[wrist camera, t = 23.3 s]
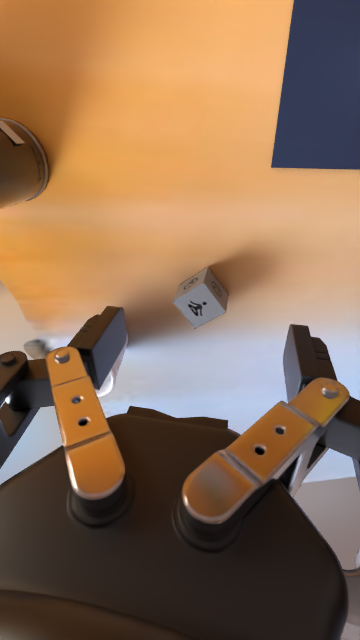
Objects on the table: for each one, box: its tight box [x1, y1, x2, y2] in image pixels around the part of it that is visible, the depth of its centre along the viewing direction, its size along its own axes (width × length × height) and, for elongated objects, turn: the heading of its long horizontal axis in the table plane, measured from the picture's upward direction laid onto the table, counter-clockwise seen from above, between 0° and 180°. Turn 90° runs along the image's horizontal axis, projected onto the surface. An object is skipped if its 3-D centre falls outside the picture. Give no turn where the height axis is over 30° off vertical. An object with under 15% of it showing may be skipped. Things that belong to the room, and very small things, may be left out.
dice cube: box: [173, 267, 228, 329], centre depth 44 cm, size 5×5×5 cm
